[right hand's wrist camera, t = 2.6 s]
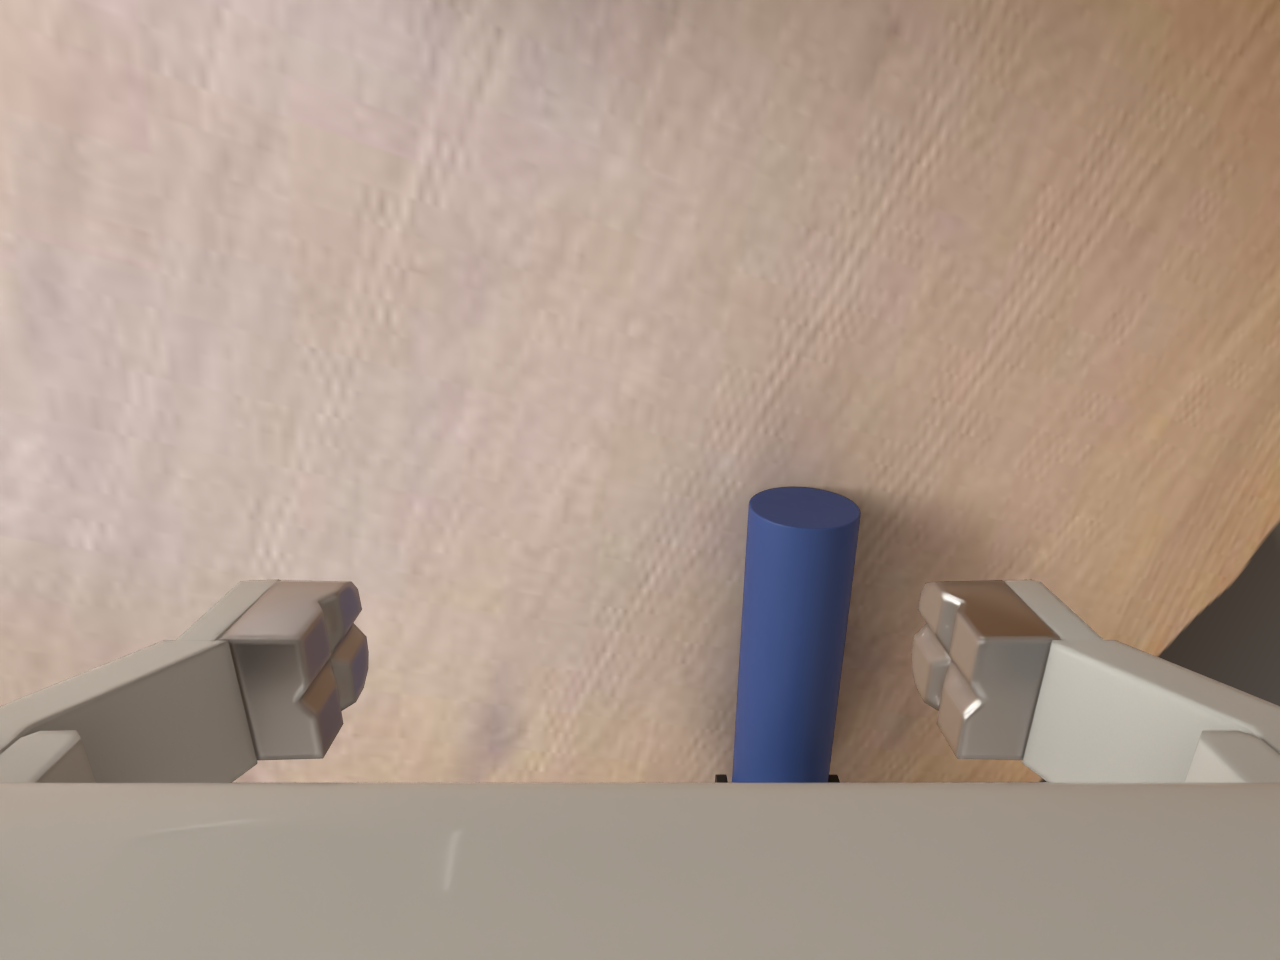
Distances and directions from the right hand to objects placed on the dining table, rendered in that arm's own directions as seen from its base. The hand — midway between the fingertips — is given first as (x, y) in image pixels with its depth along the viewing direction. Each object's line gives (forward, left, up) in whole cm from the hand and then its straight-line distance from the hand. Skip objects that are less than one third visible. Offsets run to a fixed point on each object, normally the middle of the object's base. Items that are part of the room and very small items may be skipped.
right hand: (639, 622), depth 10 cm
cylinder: (+22, +9, -31) cm, 39 cm away
